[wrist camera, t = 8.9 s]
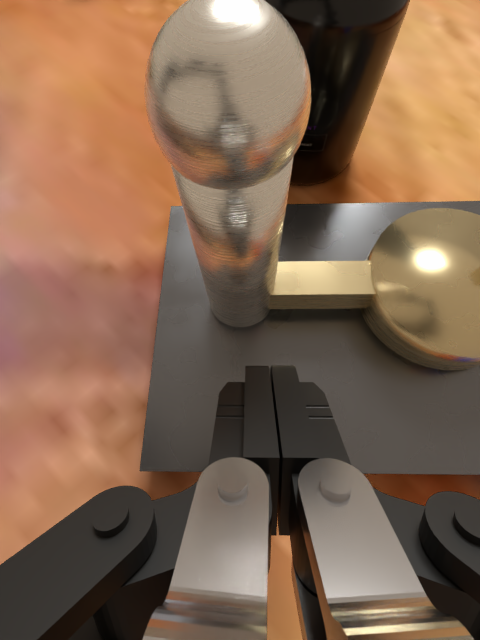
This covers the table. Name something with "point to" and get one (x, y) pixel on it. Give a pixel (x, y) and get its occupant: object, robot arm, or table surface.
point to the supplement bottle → (339, 75)
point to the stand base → (307, 358)
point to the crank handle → (273, 185)
